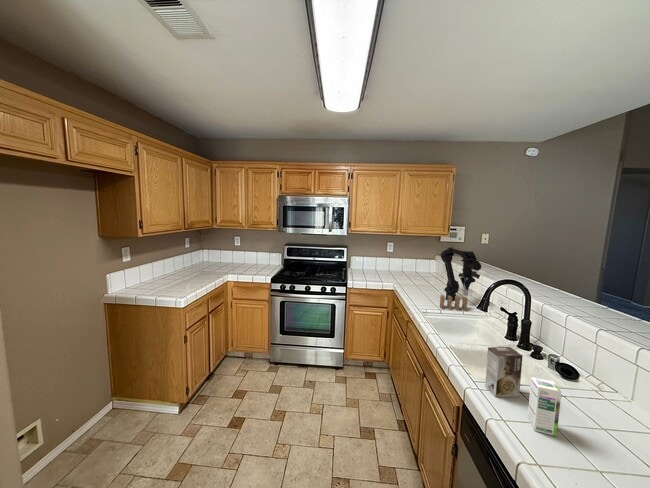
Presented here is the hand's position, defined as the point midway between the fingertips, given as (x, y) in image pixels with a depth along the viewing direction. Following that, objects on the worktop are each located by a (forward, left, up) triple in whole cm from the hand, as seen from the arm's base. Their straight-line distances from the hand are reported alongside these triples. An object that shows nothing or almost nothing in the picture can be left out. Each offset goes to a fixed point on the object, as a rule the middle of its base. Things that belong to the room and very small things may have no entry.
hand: (465, 288), depth 193 cm
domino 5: (+4, -8, -13) cm, 16 cm away
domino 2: (-4, -15, -13) cm, 20 cm away
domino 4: (0, 0, -5) cm, 4 cm away
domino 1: (-8, -18, -13) cm, 24 cm away
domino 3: (0, -11, -13) cm, 18 cm away
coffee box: (+54, -88, -14) cm, 104 cm away
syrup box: (+68, -97, -14) cm, 119 cm away
